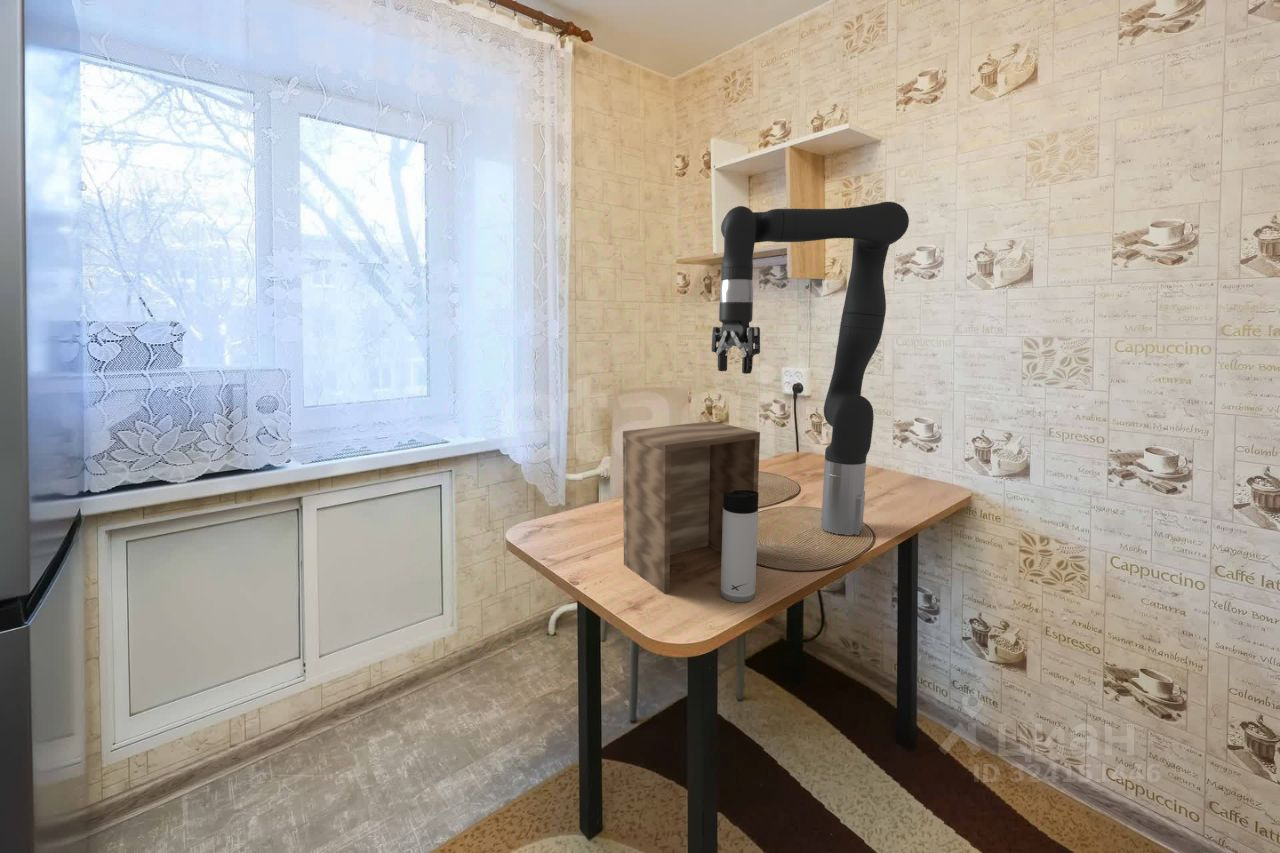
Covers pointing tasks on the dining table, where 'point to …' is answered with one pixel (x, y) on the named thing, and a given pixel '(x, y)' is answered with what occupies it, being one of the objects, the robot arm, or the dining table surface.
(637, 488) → the cubby
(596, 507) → the dining table surface
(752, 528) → the travel mug
